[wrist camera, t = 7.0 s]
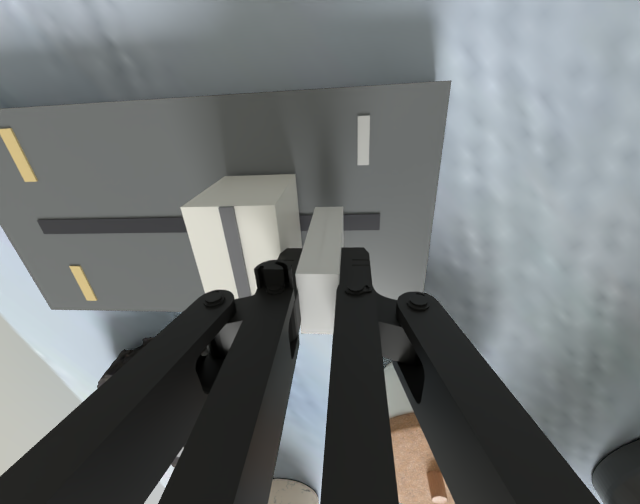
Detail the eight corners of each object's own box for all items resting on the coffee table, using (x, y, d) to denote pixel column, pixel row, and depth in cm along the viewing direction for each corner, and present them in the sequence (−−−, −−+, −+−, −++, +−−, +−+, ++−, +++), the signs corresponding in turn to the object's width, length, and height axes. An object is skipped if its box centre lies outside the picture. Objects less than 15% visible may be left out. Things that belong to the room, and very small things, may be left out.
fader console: (435, 81, 17) (451, 80, 14) (412, 290, 23) (420, 317, 21) (-12, 109, 20) (-70, 113, 17) (81, 287, 26) (50, 310, 24)
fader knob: (295, 174, 16) (274, 206, 12) (304, 268, 19) (289, 323, 15) (224, 176, 17) (178, 208, 12) (243, 268, 20) (211, 321, 15)
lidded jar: (377, 422, 32) (386, 540, 23) (337, 352, 27) (331, 467, 19) (486, 403, 29) (540, 530, 20) (460, 321, 24) (516, 440, 16)
